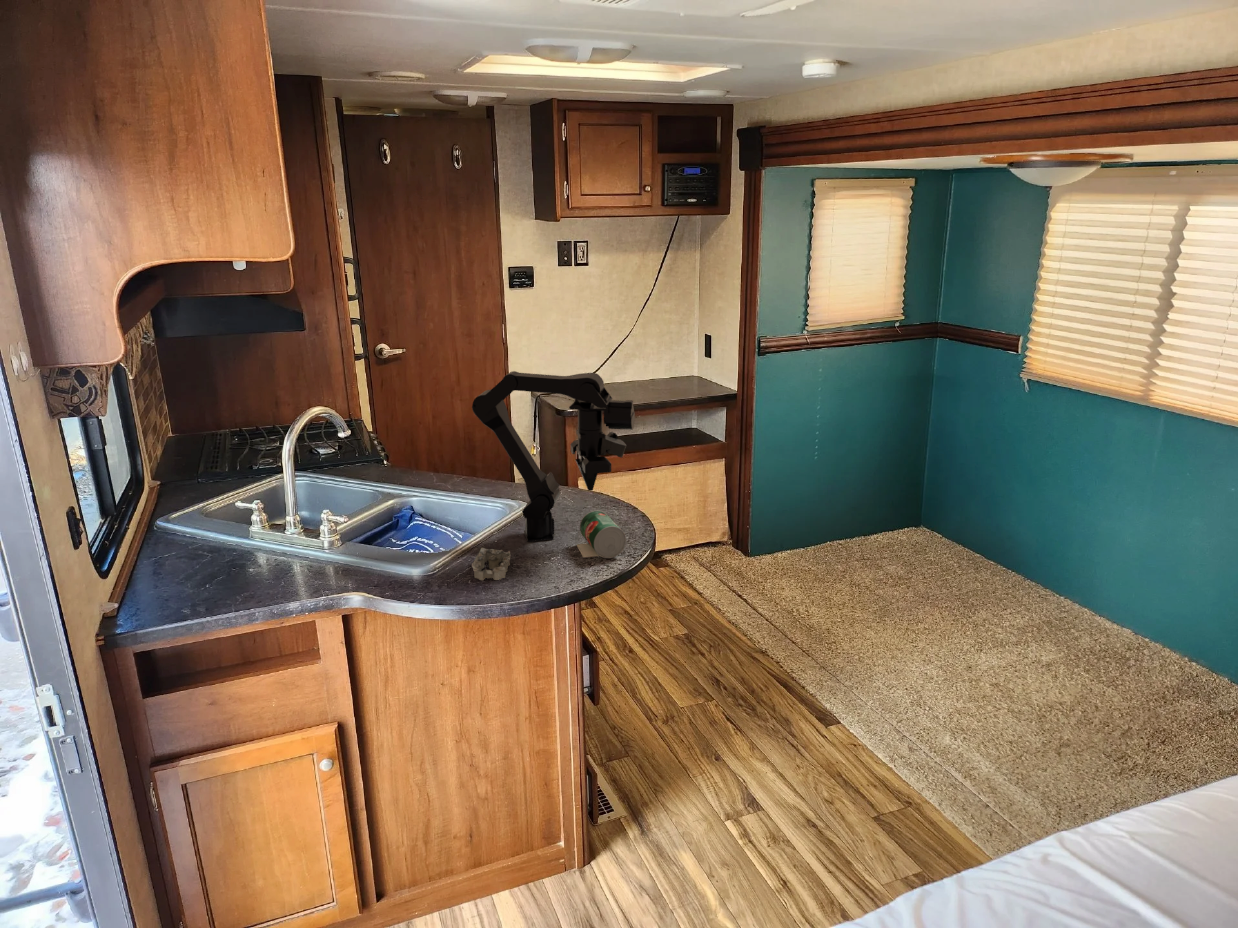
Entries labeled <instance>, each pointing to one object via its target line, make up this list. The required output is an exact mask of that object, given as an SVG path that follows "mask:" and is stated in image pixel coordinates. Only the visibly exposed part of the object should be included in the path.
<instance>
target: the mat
mask: <svg viewBox="0 0 1238 928" xmlns="http://www.w3.org/2000/svg"><path fill="white" fill-rule="evenodd" d="M576 547H577V549H578V550H579V552H580V554H581V556H582V558H592V557H594V558H595V557H600V556H599V555H598V554H597V553H596V551H595V550H594V549H593V548H592V546H591V545H590V544H589V543H588V542H587V543H577V545H576Z"/></svg>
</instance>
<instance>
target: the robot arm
mask: <svg viewBox="0 0 1238 928" xmlns="http://www.w3.org/2000/svg"><path fill="white" fill-rule="evenodd" d="M514 391H518V392H519V391H520V392H529V393H531V392H532V393H541V394H542V393H544V394H553V395H554V394H556V395H558V394H559V395H562V396H563V395H564V396H567V397H569V398H571V399H574V401H573V402H572V403H571V404H570V405H569V406H568V409H570V410H577V429H576V430H575V434H576V435H577V439H576V440H573V441H572V442H571V443H570V453H571V455H575V454H576V452H577V455H578V458H575V462H576V466H577V467H578V470H579V472H580V475H581V477H582V479H583V481H584V484H585V487H586V489H587V491H590V492H592V491H593V490H594V489H595V484H596V481H597V476H598V474H604V473H605V474H607V473H612V463H611V461H610V460H609V459H608V458H607V457H606V455H607V454H610V455H614V456H617V457H618V458H623V456H624V454H625V450H626V448H627V444H626V443H625V442H624V440H622V439H621V438H620V439H619V438H618V437H619V436H618V434H617V433H616V432H613V431H610V432H609V433H608V434H605V432H604V431H603V424H604V425H605V426H606V427H607V428H608V429H609V430H624V431H625V430H629V431H633V430H634V428H635V421H636V420H635V419H636V418H635V417H636V413H635V409H634V408H635V406H634V400H631V399H627V400H626V399H625V400H614V399H613V397H612V396H611V394H610V393H609V391H608V390H607V388H606V387H605V382H604V379H603V378H602V376H600V375H599V374H598V373H596V372H585V373H576V374H571V375H556V374H555V375H553V374H541V373H527V372H519V371H515V370H513V371H510V372H509V373H507V374H505V375H504V376H503V378H502V379H501V380H500V381H499V382H498V383H496V385H494V387H492V388H491V389H486V390H484V391H483V392H482V393H480V394H479V395H477V396H476V397H475V398H474V400H473V401H472V406H471V408H472V409H471V410H472V413H473V414H474V415H475V416H476V418H477V419H478V420H479V421H480V422H481V423H482V424H483V425H484V426H485V427H487V428H488V429H490V430H491V431H492V432H493V433H494V434H495V436H496V437H497V439H498V441H499V443H500V444H501V445H502V447H503V449H504V451H505V452H506V454H507V455H508V457H509V458H510V460H511V461H512V463H513V465H514V466H515V468H516V470H517V471H518V473H519V474H520V476H521V478H522V479H523V481H524V485H525V490H526V492H527V493H526V494H527V496H528V498H529V501H528V502H527V504H526V505H525V506H524V507H523V509H522V515H523V517H524V530H523V533H524V537H525V539H526V541H527V542H529V543H530V542H539V541H540V542H541V541H551V540H554V538H555V537H554V535H555V518H554V517H553V513H552V511H551V510H552V509H553V508H554V506H555V505H556V503H557V501H558V500H559V499H560V495H561V490H560V486H561V485H560V483H558V481H557V480H556V479H555V476H554V474H553V472H551V471H550V472H549V473H547V474H546V473H545V472H544V471H542V470H541V469H540V468H539V466H538V464H537V463H536V461H535V459H534V458H533V456H532V455H531V453H530V451H529V450H528V448H527V446H526V445H525V443H524V442H523V440H522V438H521V437H520V435H519V434H518V432H517V431H516V428H514V426H513V424H512V422H511V421H510V417H509V416H510V415H509V412H508V406H507V405H506V402H505V401H504V400H506V399H507V397H509V396H510V395H511V394H512V393H513V392H514Z"/></svg>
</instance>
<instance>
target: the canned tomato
mask: <svg viewBox="0 0 1238 928" xmlns="http://www.w3.org/2000/svg"><path fill="white" fill-rule="evenodd" d="M579 523H580V524H579V532H580V535H581V536H582V537H583V539H584V540H585V541H586V542H587V543H589V544H590V545H591V546H592V548H593V549H594V550H595V551H596V553H597V554H598V555H599V556H598V557H600V558H601V557H602V558H604V559H613V558H616V557H617V556H620V554H621V553H622V552H623V551H624V549H625V548H626V544H627V536H626V533H625V532H624V530H623V529H621V527H620V526H618V525H617V523H616V522H615V521H614V520H613V519H612V518H611V517H610V516H609V515H608V514H607V513H606V512H604V511H602V510H597V509H596V510H591V511H589V512H587V513H586V514H585V515H584V516H582V518H581V520H580V522H579Z"/></svg>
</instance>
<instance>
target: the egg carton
mask: <svg viewBox="0 0 1238 928" xmlns="http://www.w3.org/2000/svg"><path fill="white" fill-rule="evenodd" d="M511 555H512V554H511V551H510V550H508V551H507V552H505V551H504V550H503V549H500V550H499V549H493V548H491V549H488V548H485V547H480V550H479V552H478V553H477V555H476V557H475V559H473V560H474V561H473V562H472V563H471V566H472V570H473V571H474V572H473V573H474V579H477V580H479V581H484V579H485V578H487V579H492V578H493V579H492V580H493V581H494V580H499V579H500V580H502V579H501V578H504V579H505V578H506V574H507V572H508V567H509V566H510V565H511V563H510V560H511ZM487 562H488V568H489V569H487V568H486V569H484V568H485V567H486V566H485V563H487ZM482 569H483V570H482ZM492 569H493V570H492ZM485 580H486V579H485ZM500 580H499V581H500Z"/></svg>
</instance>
